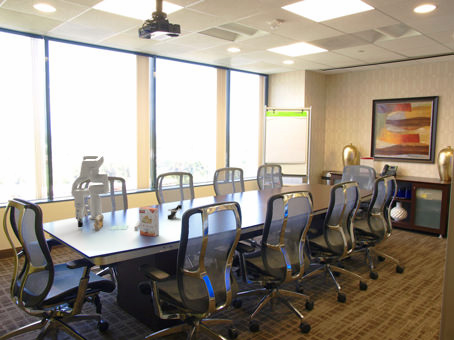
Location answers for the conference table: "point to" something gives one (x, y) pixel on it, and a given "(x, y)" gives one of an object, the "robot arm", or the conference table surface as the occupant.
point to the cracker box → (149, 221)
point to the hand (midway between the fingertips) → (80, 227)
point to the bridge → (97, 220)
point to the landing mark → (119, 227)
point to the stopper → (137, 225)
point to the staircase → (174, 211)
